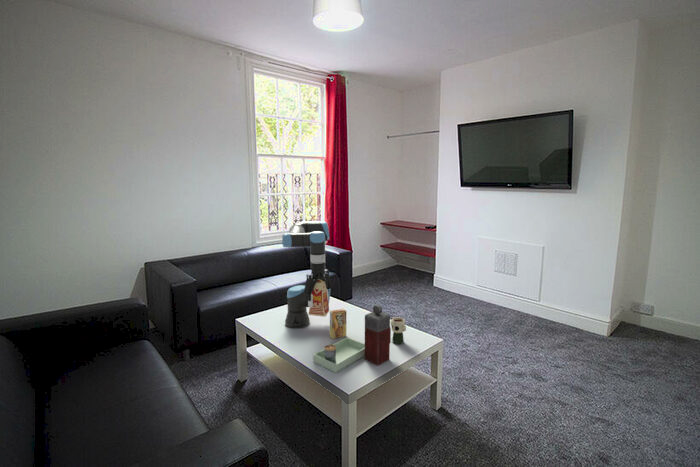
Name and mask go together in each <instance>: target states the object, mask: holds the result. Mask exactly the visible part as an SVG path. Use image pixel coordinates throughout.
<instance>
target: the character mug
mask: <svg viewBox="0 0 700 467" xmlns="http://www.w3.org/2000/svg"><path fill="white" fill-rule="evenodd" d="M390 328H391V332H393V333H392V337H391V338H392V340H391V341H392V342H391V343H394V344H396V345H397V344H402V343H404V342H405V341H404V332H407V326H406V320H405V318H403V317H399V316H397V317H395V316H394V317H393V318H392V319H390Z"/></svg>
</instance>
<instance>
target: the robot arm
mask: <svg viewBox="0 0 700 467" xmlns="http://www.w3.org/2000/svg"><path fill="white" fill-rule="evenodd" d="M281 238H282V239H281V240H282V247H283V248H288V249H289V248H310V249H309V250H310V255H309V256H310V257H309V259H310V270H311V273H310V274H309V273H308V274H306V280H305V284H304V285H303V284H300V285H295V286H294V285H293V286H292V287H289V288H288V290H287V291H286V292H287V295H286V298H287V313H286V317H285V320H284V322H285V323H284V324H285V326H286V327H287V328H291V329H292V328H293V329H300V328H304V327H307V326H308V325H310V321H311V320H310V317H309V316H310V315H308V314H309V312H308V309H307V308H310V307H313V295H312V291H313V289H314V286H315V284H316V282H317V281H318V279H319V280H323V281H324V282H325V284H326V289H327V295H328V302H329V303H330V298H331V289H332V287H333V284H332V281H331V277H330V269H326V244H327V243H328V240H330V230H329V224H328V222H326V221H321V220H317V221H316V220H313V221H300V222H297V223H294V224H293V225H291V226H290V228H289V230H288V232H287V233H283V234H282V236H281Z"/></svg>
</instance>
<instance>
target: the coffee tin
mask: <svg viewBox="0 0 700 467" xmlns="http://www.w3.org/2000/svg"><path fill="white" fill-rule="evenodd" d="M324 349H325V359H326V360H328V361H330V362H333V363H335V364H336V346H335V345H333V344H330V343H329V344H326V345H324Z"/></svg>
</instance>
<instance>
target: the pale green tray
mask: <svg viewBox="0 0 700 467" xmlns="http://www.w3.org/2000/svg"><path fill="white" fill-rule="evenodd" d="M332 345H335V346H336V364H335V363H333V362H330V361H328V360H326V359H325V349H321V350H320V351H317V352H315V353H314V354H313V357H312V358H313V363H315V364H317V365H319V366H321V367H323V368H325V369H327V370H329V371H330V372H333V373H334V374H338V373H339V372H340V371H342V370H344V369H346V368H347V367H348V366H350V365H352V364H354V363H355V362H357V361H359V360H361V359H362V358H363V357H364V358H365V342H361V341H359V340H356V339H353V338H351V337H348V336H346V337H345V338H343V339H341V340H339V341H337V342H334V343H333V344H332Z"/></svg>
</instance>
